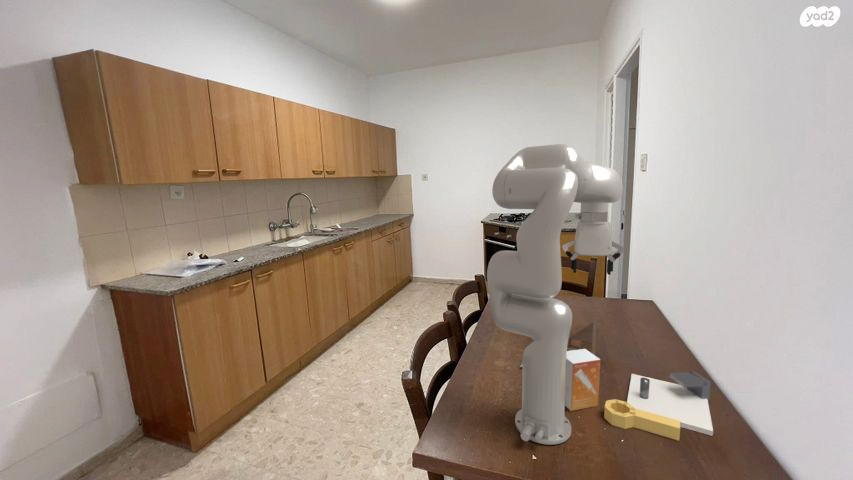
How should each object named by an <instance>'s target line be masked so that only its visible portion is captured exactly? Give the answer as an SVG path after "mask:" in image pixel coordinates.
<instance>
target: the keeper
mask: <svg viewBox="0 0 853 480" xmlns="http://www.w3.org/2000/svg"><path fill="white" fill-rule="evenodd" d="M669 378H670V379H672V380H673V381H674V382H676V384H679V385H682V386H683V387H686V388H687V389H689V390H690V391H691V392H693V393H694V394H695V395H697V396H698V397H700V398H701V399H707V400H708V404H709V403H710V395H711V385H712V382H711V381H710V380H709V379H707V378H706V377H704V376H703V375H701V373H698V372H697V371H684V372H670V373H669Z"/></svg>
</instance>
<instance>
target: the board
mask: <svg viewBox="0 0 853 480" xmlns="http://www.w3.org/2000/svg"><path fill="white" fill-rule="evenodd" d="M641 378H647V379H649V380H650V384H649V398H648V399H643V398H641V397H640V396H639V395H640V380H641ZM628 388H629V389H628V393H627V400H626V402H628V403H629V404H630V405H632V406H633V407H634V408H635V409H639V410H643V411H646V412H650V413H653V414H657V415H661V416H664V417H668V418H672V419H675V420H679V421H680V428H682V429H683V428H684V429H686V430H690V431H694V432H697V433H699V434H700V433H701V434H704V435H708V436H710V437H711V436H712V437H713V436H714V428H713V421H712V417H711V412H710V411H711V410H710V406H709V403H708V400H707V399H701V398H700V397H698V396H697V395H695V394H694V393H693V392H691V391H690V390H689V389H687V388H686V387H683V386H682V385H680V384H679V383H673V382H670V381H665V380H660V379H656V378H653V377H647V376H643V375H641V374H640V375H639V374H635V373H631V376H630V382H629V387H628Z"/></svg>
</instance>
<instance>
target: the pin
mask: <svg viewBox="0 0 853 480" xmlns="http://www.w3.org/2000/svg"><path fill="white" fill-rule="evenodd" d="M649 384H650V380H649V379H647V378H641V380H640V395H639V396H640V397H641V398H643V399H648V398H649Z"/></svg>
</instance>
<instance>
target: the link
mask: <svg viewBox="0 0 853 480" xmlns="http://www.w3.org/2000/svg"><path fill="white" fill-rule="evenodd" d="M604 403H605V404H604V409H603V410H604V411H603V413H604V414H603V418H604V419H605V420H606V421H607V422H608V423H609V424H610V425H611V426H614V427H617V428H621V429H623V430H624V429H626V430H627V429H630V428H636V429H638V430H641V431H645V432H649V433H651V434H655V435H659V436H662V437H666V438H668V439H672V440H675V441H680V436H681V427H680V421H679V420H675V419H672V418H668V417H664V416H661V415H657V414H653V413H650V412H646V411H643V410H639V409H635V408H634V407H633V406H632V405H630V404H629V403H628V402H627V401H624V400H621V399H608V400H606V401H605V402H604Z"/></svg>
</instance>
